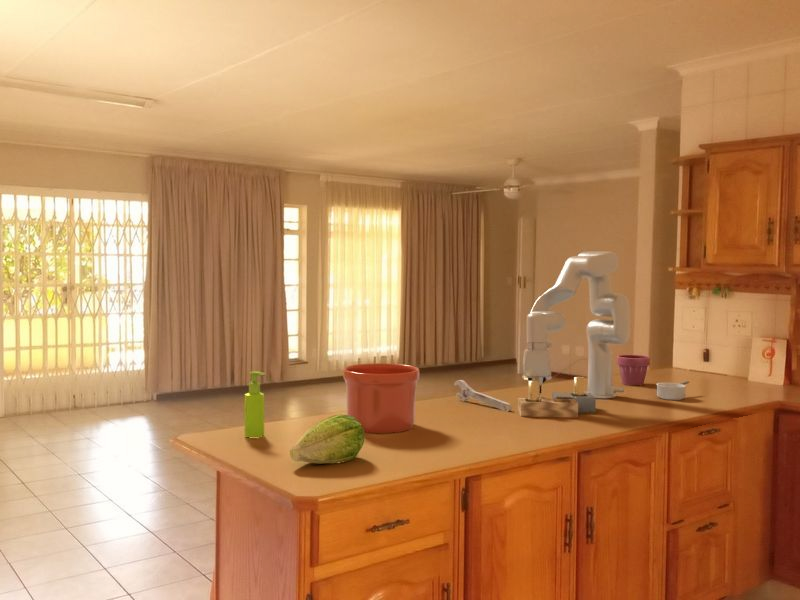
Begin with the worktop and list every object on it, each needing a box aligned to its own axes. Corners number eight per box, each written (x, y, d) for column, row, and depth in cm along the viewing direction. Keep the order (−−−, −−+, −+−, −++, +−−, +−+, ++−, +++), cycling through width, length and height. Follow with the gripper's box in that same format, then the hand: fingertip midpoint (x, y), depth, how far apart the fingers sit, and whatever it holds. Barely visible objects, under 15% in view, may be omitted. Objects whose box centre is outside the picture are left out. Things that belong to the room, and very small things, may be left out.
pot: (332, 421, 240) (333, 365, 239) (400, 415, 250) (401, 361, 249) (357, 438, 217) (358, 376, 217) (431, 431, 227) (432, 371, 226)
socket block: (589, 407, 269) (589, 392, 268) (595, 412, 259) (595, 397, 258) (552, 406, 269) (552, 392, 269) (556, 411, 259) (556, 396, 259)
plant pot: (611, 381, 329) (612, 354, 328) (640, 381, 331) (641, 354, 330) (624, 387, 315) (625, 358, 314) (654, 386, 316) (655, 358, 316)
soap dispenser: (257, 440, 214) (257, 374, 213) (240, 437, 217) (240, 372, 216) (270, 436, 219) (270, 371, 218) (254, 433, 222) (254, 369, 221)
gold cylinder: (583, 408, 266) (583, 376, 265) (585, 410, 262) (586, 378, 261) (572, 408, 266) (573, 376, 265) (574, 410, 262) (575, 378, 261)
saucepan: (701, 396, 294) (701, 383, 294) (677, 402, 281) (677, 388, 280) (674, 392, 303) (674, 379, 302) (650, 398, 289) (650, 384, 289)
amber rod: (538, 413, 257) (538, 380, 256) (539, 415, 253) (540, 382, 252) (527, 413, 257) (527, 380, 256) (528, 415, 253) (529, 381, 252)
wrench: (507, 419, 259) (452, 398, 282) (510, 418, 261) (455, 397, 283) (509, 398, 258) (454, 378, 281) (513, 398, 259) (457, 378, 282)
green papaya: (272, 441, 190) (293, 421, 180) (337, 420, 204) (360, 401, 195) (290, 486, 186) (313, 469, 176) (356, 461, 200) (380, 444, 191)
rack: (573, 412, 258) (573, 399, 258) (577, 417, 250) (578, 403, 250) (518, 411, 259) (518, 398, 259) (520, 416, 251) (520, 402, 251)
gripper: (555, 344, 267) (555, 393, 268) (515, 345, 268) (515, 393, 269) (558, 347, 260) (558, 397, 261) (517, 348, 260) (517, 397, 262)
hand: (537, 395), depth 265 cm, fingers closed
